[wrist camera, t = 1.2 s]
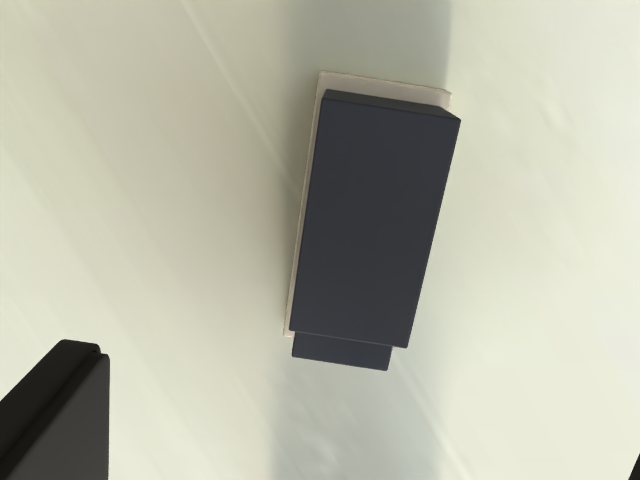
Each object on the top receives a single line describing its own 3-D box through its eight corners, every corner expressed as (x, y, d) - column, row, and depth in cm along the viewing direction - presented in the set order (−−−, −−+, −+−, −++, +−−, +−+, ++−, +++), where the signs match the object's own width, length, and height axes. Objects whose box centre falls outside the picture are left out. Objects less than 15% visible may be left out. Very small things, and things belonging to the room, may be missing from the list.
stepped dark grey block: (320, 70, 19) (313, 77, 15) (447, 89, 19) (476, 102, 15) (285, 322, 22) (271, 387, 18) (391, 338, 23) (402, 407, 18)
